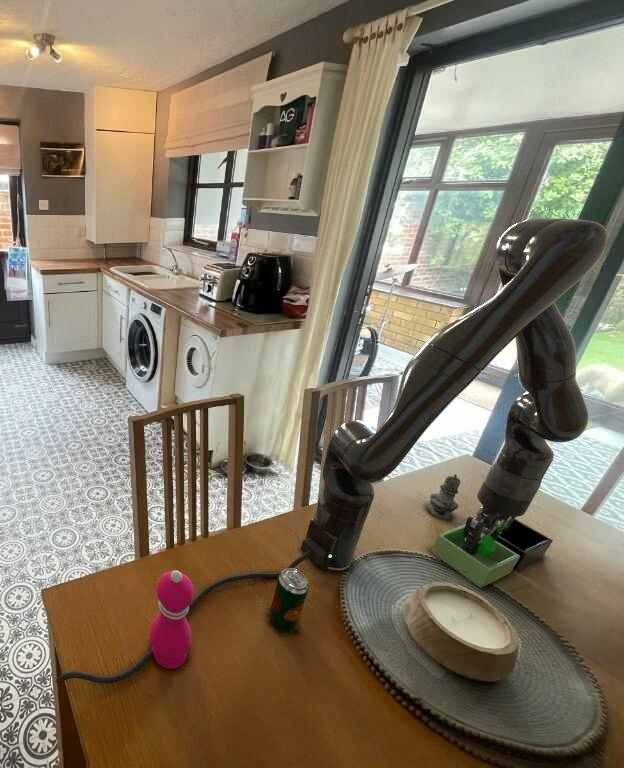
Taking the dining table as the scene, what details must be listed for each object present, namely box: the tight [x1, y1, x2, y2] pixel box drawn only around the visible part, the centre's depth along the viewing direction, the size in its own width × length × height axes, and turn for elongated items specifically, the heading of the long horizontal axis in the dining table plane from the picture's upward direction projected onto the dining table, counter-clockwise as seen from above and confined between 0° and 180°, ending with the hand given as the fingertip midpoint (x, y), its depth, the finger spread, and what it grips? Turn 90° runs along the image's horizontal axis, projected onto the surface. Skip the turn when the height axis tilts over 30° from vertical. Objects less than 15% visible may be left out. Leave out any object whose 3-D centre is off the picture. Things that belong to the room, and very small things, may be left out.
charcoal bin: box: [484, 518, 554, 571], centre depth 94 cm, size 10×10×5 cm
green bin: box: [430, 524, 520, 589], centre depth 90 cm, size 10×10×5 cm
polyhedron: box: [465, 533, 496, 555], centre depth 88 cm, size 5×5×5 cm
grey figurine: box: [426, 474, 462, 520], centre depth 103 cm, size 6×6×12 cm
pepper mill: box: [149, 570, 195, 670], centre depth 69 cm, size 7×7×20 cm
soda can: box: [268, 567, 309, 633], centre depth 76 cm, size 5×5×12 cm
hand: (476, 548), depth 89 cm, fingers closed on polyhedron, 5 cm apart
